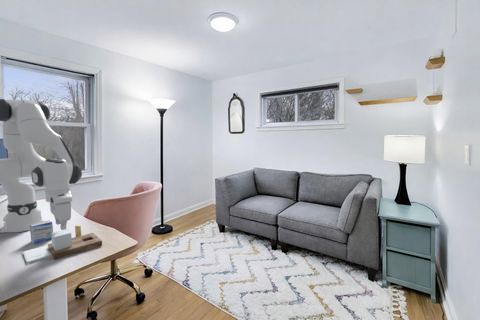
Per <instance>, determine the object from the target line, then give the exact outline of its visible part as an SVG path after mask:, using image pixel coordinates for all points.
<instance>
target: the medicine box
mask: <svg viewBox="0 0 480 320" xmlns="http://www.w3.org/2000/svg"><path fill="white" fill-rule="evenodd" d="M53 226H54V225H53V221H52V220H44V222H40V223H35V224H31V225H30V230H29V232H30V233H29V234H30V242H31V243H32V244H34V245H35V244H39V243H42V242H46V241H49V240H52V235H51V233H54V229H53V228H54V227H53Z"/></svg>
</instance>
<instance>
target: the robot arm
mask: <svg viewBox="0 0 480 320" xmlns="http://www.w3.org/2000/svg"><path fill="white" fill-rule="evenodd" d="M50 116H51V110H50V107H49V105H48V104H47V103H45V102H42V101H38V100H37V101H35V100H28V99H4V98H0V122H2V138H3V139H2V141H3V142H2V144H3V147H4V148H5V149H6V150H7V151H10V152H12V153H15V154H18V155H19V157H10V158H8V157H7V158H0V185H1V186H2V187H3V188H4V189H5V193H6V196H7V197H6V198H7V203H8V204H7V206H6V209H7V214H5V215H4V216H3V222H4V223H3V226H2V228H1V229H0V233H1V234H2V233H19V232H20V233H22V232H26V231H30V225H31V224H35V223H40V222H44V221H45V220H44V219H42V218H43V217H42V211H41V209H39V208H38V203H37V200H36V191H35V190H36V189H35V188H34V186H33V185H31V184H27V183H24V182H20V180H19V179H24V178H31V179H32V184H34V185H35V186H37V187H39V188H45V189H44V194H45V202H46V203H49V209H50V213H51V214H52V215H53V216H54V220H55V224H56V225H57V226H58V225H59V226H60V231H63V230H67V223H68V221H71V218H72V203H71V202H73V195H72V190H71V185H72V184H74V185H75V184H76V183H78V182H79V181H80V180H81V178H82V177H83V176H82V175H83V172H82V171H83V170H82V168H81V167H80V165H79V164H78V162H76V160H75V159H74V157H73V155H72V153H71V151H70V149H69V148H68V145H67V144H66V142H65V140H64V139H63V138H62V136H61V135H60V134H58V133H56V132H55V131H54V130H53V129H52V128H51V127H50V125H49V123H48V120H50V118H51V117H50ZM33 144H34V145H38V146H42V147H46V148H48V149H50V150H51V149H52V150H53V151H54V152H55V153H56V154H57V157H51V158H50V157H49V158H46V157H43V156H41V155H40V154H38V152H37V151H36V149H35V148H34V145H33Z"/></svg>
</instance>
